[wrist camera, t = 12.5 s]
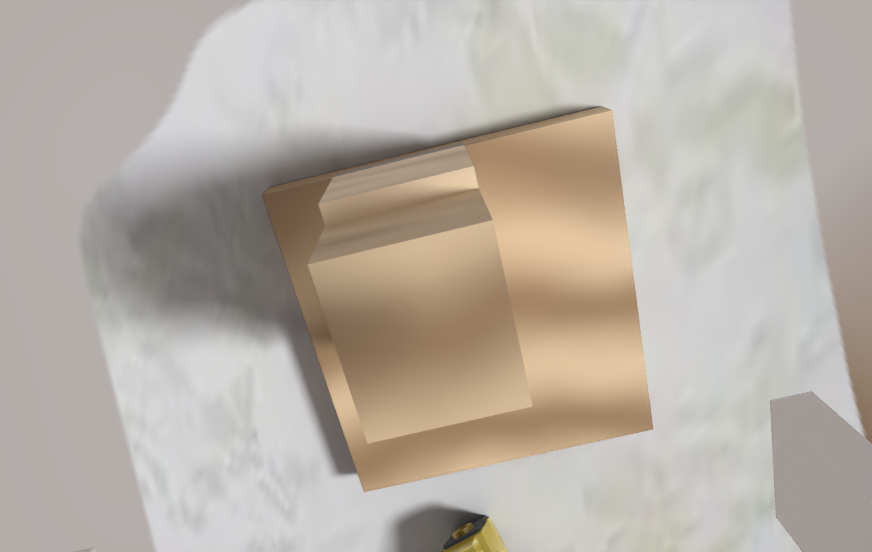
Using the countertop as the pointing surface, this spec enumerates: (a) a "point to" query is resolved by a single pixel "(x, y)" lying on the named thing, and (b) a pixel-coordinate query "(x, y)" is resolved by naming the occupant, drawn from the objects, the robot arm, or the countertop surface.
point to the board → (514, 300)
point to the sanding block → (417, 295)
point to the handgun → (476, 538)
